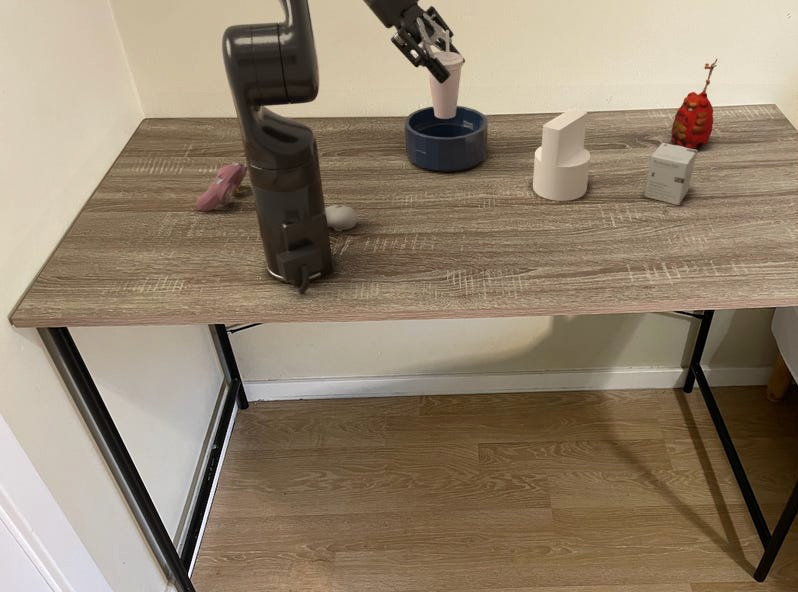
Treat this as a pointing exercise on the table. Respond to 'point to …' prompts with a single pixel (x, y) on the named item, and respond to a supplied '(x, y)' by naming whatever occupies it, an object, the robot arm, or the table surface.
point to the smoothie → (446, 83)
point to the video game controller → (222, 187)
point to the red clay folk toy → (694, 118)
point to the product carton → (670, 173)
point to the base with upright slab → (562, 158)
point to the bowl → (446, 139)
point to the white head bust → (341, 217)
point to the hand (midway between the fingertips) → (453, 72)
